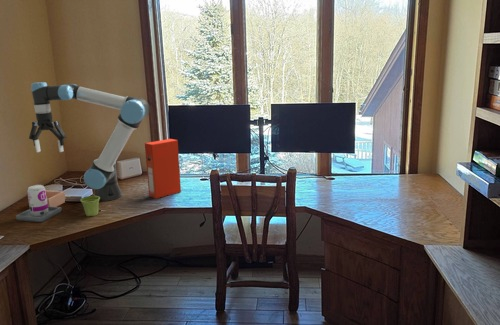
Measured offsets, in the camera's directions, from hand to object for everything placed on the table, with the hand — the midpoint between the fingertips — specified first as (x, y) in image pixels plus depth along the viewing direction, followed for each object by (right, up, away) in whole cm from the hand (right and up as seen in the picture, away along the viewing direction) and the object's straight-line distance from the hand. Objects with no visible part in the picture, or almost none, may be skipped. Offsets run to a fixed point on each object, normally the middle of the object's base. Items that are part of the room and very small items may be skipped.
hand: (50, 151), depth 218 cm
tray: (-2, -34, -7) cm, 34 cm away
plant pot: (+25, -33, -6) cm, 42 cm away
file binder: (+57, -25, +25) cm, 67 cm away
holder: (-6, -30, +9) cm, 31 cm away
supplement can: (-2, -33, -7) cm, 34 cm away
